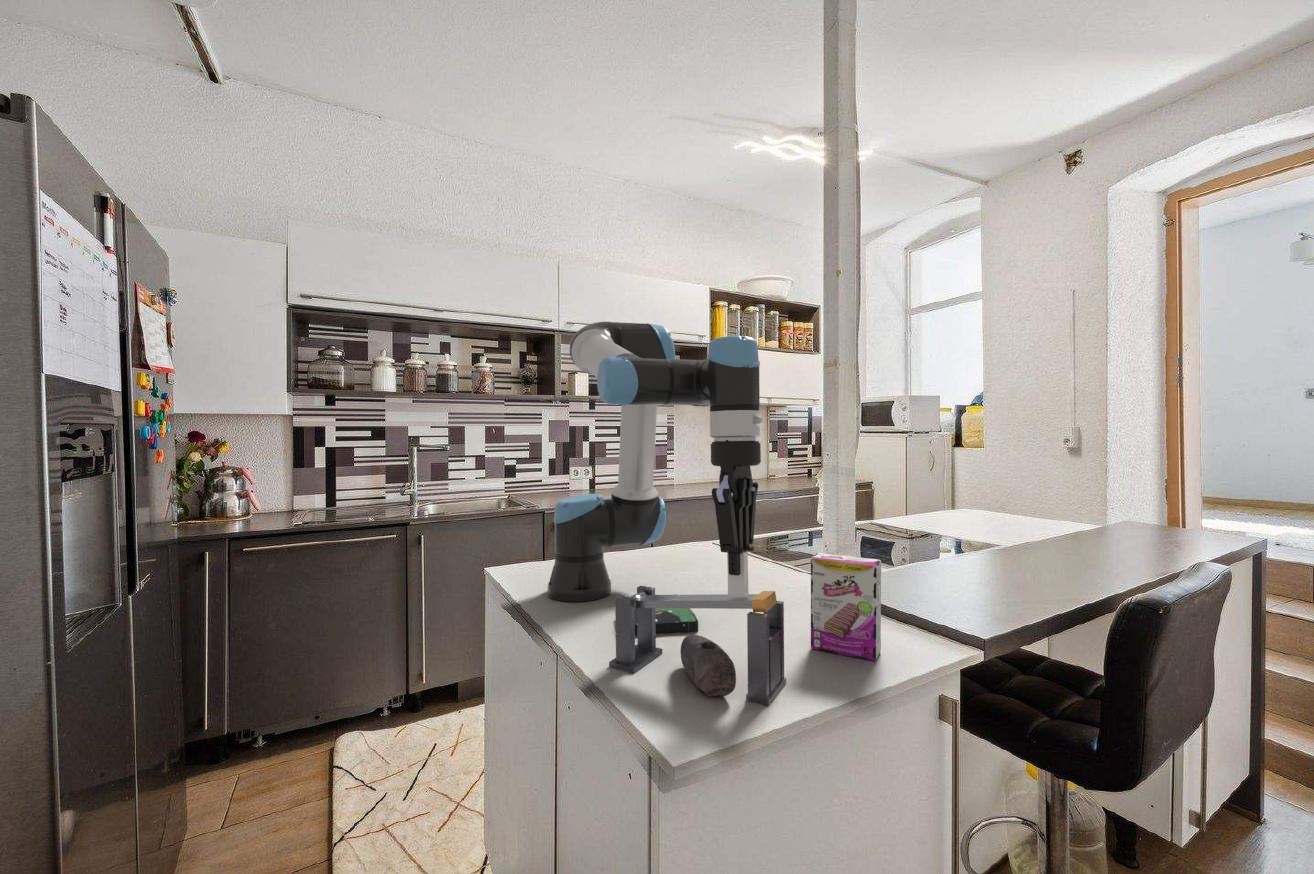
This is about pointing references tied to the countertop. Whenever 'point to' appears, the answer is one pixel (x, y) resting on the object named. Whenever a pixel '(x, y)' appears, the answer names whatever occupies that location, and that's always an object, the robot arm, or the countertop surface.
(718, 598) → the grey long bar
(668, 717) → the countertop surface
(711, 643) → the perforated stone tool
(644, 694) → the countertop surface
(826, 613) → the candy bar box
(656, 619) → the disk drive
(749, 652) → the catch block
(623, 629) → the bracket
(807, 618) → the countertop surface
